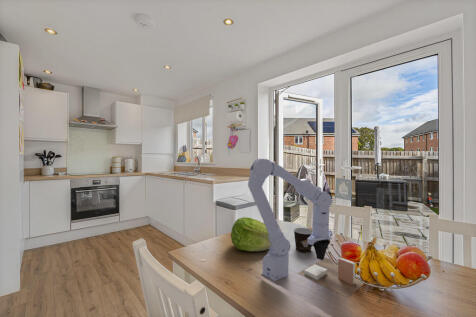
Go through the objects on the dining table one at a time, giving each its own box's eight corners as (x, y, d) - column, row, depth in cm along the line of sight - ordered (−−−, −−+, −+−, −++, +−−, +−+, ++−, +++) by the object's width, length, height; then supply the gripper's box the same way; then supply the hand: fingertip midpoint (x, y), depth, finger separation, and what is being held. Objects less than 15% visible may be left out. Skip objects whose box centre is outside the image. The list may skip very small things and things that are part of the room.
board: (348, 301, 66) (348, 297, 66) (297, 276, 80) (297, 273, 80) (372, 278, 78) (372, 275, 78) (325, 260, 92) (325, 257, 92)
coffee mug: (291, 253, 98) (292, 232, 98) (295, 246, 106) (296, 226, 106) (319, 259, 93) (319, 236, 93) (321, 251, 101) (321, 230, 101)
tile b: (352, 284, 72) (353, 264, 72) (338, 278, 76) (338, 258, 76) (354, 283, 74) (355, 262, 73) (340, 276, 77) (340, 257, 77)
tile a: (327, 273, 79) (316, 280, 75) (314, 268, 83) (304, 274, 79) (327, 269, 79) (317, 275, 75) (314, 264, 83) (304, 270, 79)
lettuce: (278, 262, 91) (283, 228, 93) (224, 248, 99) (230, 216, 100) (281, 252, 108) (285, 223, 109) (235, 240, 115) (239, 213, 116)
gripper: (320, 229, 73) (320, 269, 73) (340, 221, 82) (339, 257, 83) (302, 224, 79) (302, 261, 79) (323, 217, 88) (322, 250, 88)
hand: (320, 258), depth 81 cm, fingers closed
